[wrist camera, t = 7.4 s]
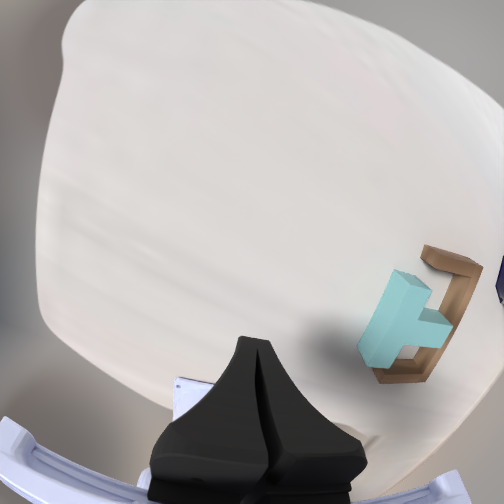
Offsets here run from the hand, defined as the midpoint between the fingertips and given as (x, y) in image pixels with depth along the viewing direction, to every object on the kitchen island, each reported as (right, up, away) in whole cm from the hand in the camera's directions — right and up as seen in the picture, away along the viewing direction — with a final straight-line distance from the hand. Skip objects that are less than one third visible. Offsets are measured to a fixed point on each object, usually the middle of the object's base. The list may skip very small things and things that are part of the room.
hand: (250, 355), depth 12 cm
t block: (+15, -1, +11) cm, 18 cm away
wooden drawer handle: (+16, -1, +11) cm, 20 cm away
